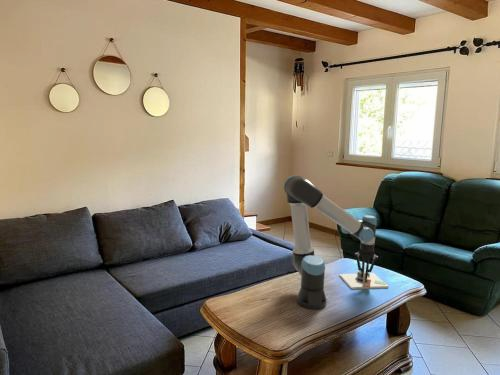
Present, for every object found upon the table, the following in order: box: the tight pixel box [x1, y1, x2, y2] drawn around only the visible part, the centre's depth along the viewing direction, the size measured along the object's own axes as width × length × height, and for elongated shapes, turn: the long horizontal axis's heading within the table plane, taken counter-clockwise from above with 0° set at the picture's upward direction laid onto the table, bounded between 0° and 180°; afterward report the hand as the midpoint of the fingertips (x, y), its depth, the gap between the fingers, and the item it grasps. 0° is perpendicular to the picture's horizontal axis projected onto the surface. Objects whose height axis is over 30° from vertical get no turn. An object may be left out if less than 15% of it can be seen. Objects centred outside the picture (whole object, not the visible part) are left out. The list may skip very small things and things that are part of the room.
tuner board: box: [338, 272, 390, 290], centre depth 215 cm, size 23×19×1 cm
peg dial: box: [356, 271, 371, 288], centre depth 210 cm, size 16×7×4 cm, turn 177°
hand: (363, 282), depth 207 cm, fingers closed
